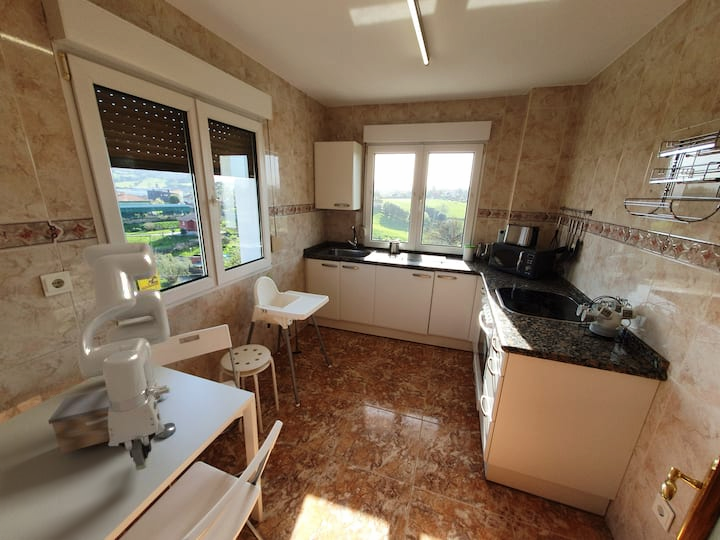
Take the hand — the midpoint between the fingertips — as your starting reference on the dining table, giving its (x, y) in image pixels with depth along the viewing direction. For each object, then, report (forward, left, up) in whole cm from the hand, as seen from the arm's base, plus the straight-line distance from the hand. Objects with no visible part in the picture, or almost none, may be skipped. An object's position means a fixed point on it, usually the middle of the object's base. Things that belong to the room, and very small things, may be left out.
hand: (141, 455), depth 76 cm
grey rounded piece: (-3, -15, -7) cm, 17 cm away
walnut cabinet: (+12, -19, -7) cm, 23 cm away
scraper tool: (0, -3, -1) cm, 3 cm away
